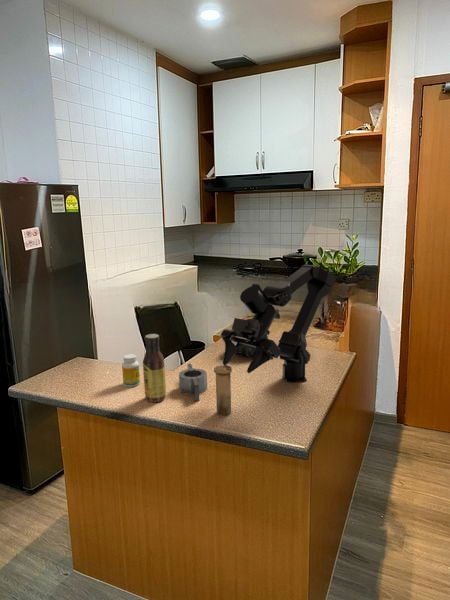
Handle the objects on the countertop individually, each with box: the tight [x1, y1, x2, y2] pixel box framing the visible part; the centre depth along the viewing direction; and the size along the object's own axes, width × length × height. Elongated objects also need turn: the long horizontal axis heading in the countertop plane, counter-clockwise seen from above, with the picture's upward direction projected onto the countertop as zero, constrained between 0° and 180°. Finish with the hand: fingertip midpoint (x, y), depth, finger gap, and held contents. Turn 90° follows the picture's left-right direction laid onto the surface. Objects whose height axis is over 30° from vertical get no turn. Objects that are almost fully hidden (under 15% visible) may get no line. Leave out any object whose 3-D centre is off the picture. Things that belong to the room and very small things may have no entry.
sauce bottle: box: [142, 333, 167, 403], centre depth 130 cm, size 7×6×20 cm
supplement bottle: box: [121, 353, 141, 388], centre depth 143 cm, size 5×5×10 cm
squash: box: [231, 318, 269, 357], centre depth 170 cm, size 14×15×15 cm
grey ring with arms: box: [178, 363, 208, 402], centre depth 139 cm, size 18×8×5 cm, turn 11°
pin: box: [213, 364, 233, 417], centre depth 121 cm, size 5×5×13 cm
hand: (235, 368), depth 124 cm, fingers open, 9 cm apart
